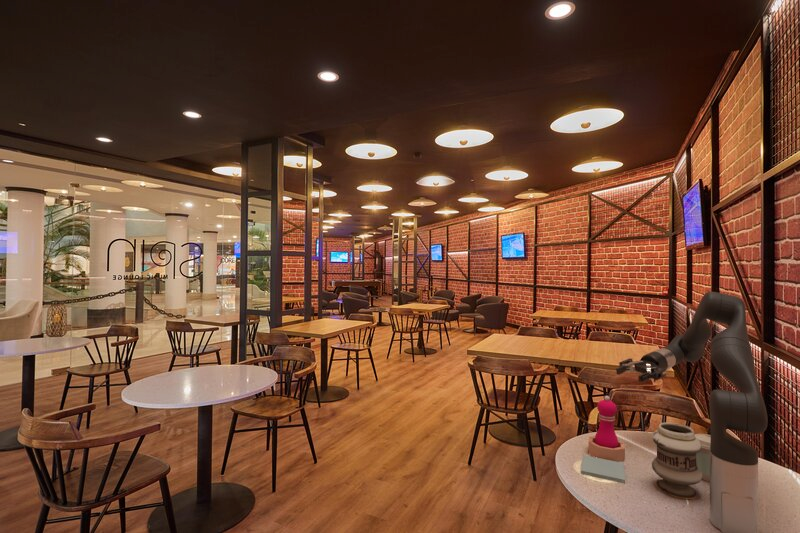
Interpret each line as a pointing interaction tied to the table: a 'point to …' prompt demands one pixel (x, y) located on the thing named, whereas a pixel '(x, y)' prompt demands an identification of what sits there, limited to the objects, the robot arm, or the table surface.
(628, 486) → the table surface
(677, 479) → the apothecary jar
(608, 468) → the board
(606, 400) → the pepper mill
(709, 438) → the coffee cup
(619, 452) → the holder ring
